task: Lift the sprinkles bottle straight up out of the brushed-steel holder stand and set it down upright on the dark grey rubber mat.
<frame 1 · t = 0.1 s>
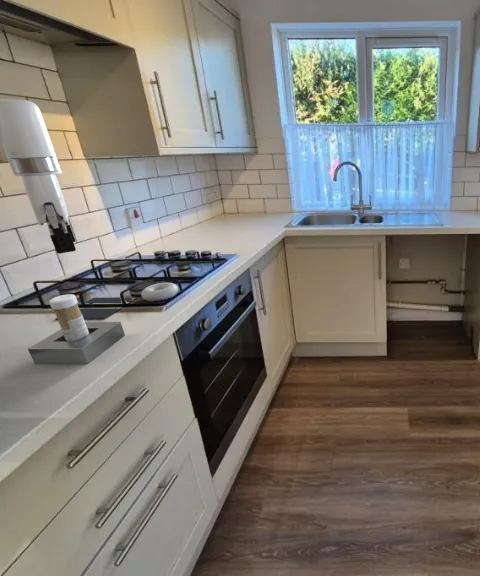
hand: (67, 247, 81), 24 cm above the countertop, tool pointing down, fingers open, 9 cm apart
mat: (99, 308, 107), on the countertop
stand: (82, 348, 86), on the countertop
donut: (161, 297, 114), on the countertop
sprinkles bottle: (83, 349, 86), resting in stand
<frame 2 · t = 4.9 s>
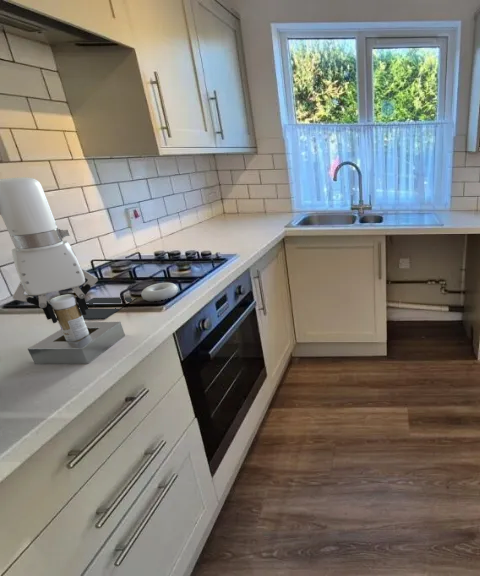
hand: (69, 316, 82), 9 cm above the countertop, tool pointing down, fingers closed on sprinkles bottle, 4 cm apart
sprinkles bottle: (83, 349, 86), resting in stand, touching gripper
everything else where it was.
when the fingers open (9 cm above the countertop, at t = 13.4 s): sprinkles bottle stays where it is, resting on mat.
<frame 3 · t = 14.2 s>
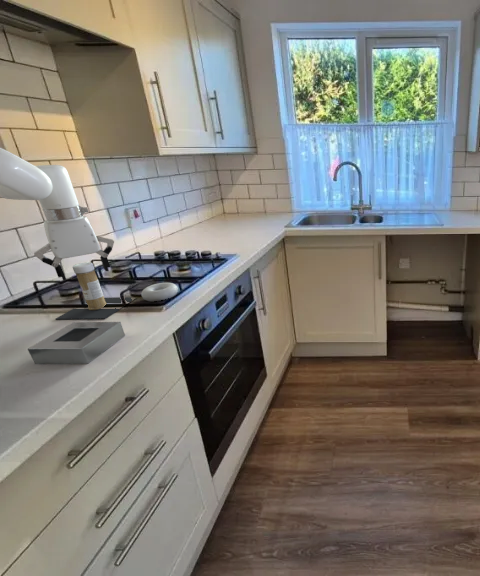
hand: (86, 274, 102), 11 cm above the countertop, tool pointing down, fingers open, 9 cm apart
sprinkles bottle: (98, 308, 106), resting on mat
everything else where it was.
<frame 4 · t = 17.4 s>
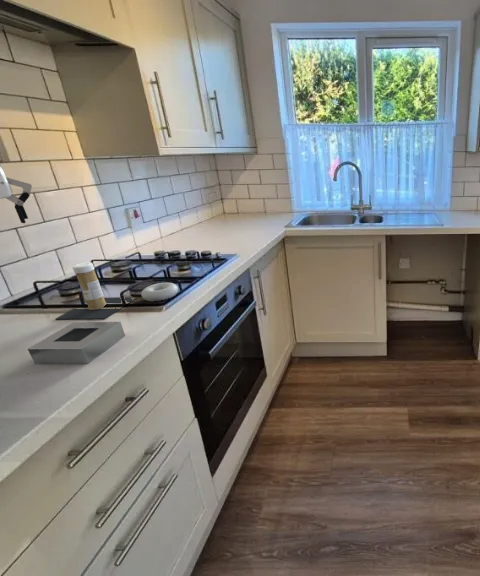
nothing on the countertop moved.
at the end: sprinkles bottle inside the target area on the mat (0.1 cm from its centre), point 0.2 cm above the mat's base; sprinkles bottle tilted 0°; sprinkles bottle touching mat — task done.
